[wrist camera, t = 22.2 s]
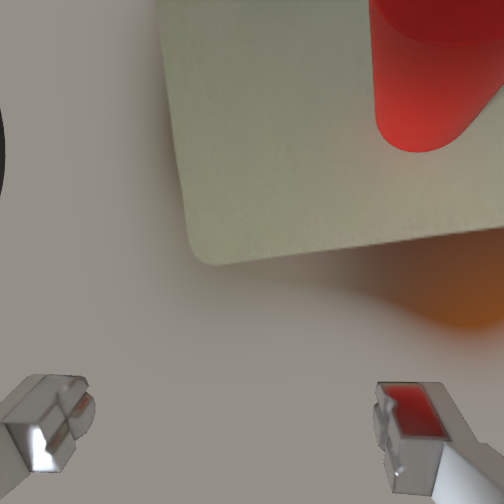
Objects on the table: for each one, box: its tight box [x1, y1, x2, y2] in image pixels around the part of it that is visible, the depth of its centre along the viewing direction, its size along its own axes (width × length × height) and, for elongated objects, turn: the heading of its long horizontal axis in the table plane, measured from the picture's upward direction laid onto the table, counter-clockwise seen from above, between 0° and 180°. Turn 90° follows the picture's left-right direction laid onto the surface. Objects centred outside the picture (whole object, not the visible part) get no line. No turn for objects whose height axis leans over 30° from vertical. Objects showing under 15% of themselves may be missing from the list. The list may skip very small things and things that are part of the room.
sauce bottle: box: [369, 0, 504, 152], centre depth 13 cm, size 6×6×16 cm
